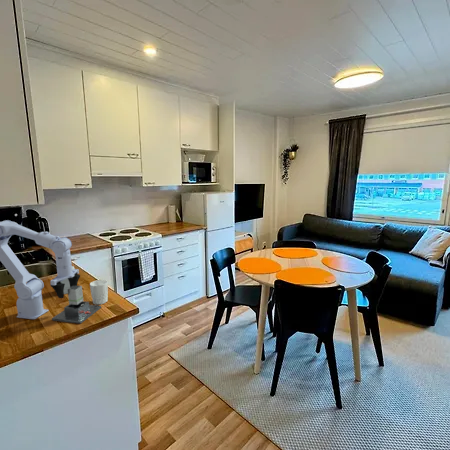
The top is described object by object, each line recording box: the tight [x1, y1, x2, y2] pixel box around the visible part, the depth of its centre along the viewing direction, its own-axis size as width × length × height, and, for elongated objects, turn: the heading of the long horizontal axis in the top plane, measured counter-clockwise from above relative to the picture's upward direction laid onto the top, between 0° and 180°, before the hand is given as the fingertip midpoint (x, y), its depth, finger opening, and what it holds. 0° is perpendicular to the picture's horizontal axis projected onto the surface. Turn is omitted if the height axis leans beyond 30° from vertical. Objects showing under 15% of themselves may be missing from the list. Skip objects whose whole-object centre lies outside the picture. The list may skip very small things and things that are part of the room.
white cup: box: [89, 279, 109, 306], centre depth 134 cm, size 8×8×10 cm
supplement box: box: [61, 265, 76, 295], centre depth 146 cm, size 7×7×13 cm
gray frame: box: [51, 300, 102, 325], centre depth 123 cm, size 14×14×5 cm
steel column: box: [67, 285, 84, 305], centre depth 121 cm, size 4×4×7 cm
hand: (67, 293), depth 122 cm, fingers open, 7 cm apart
